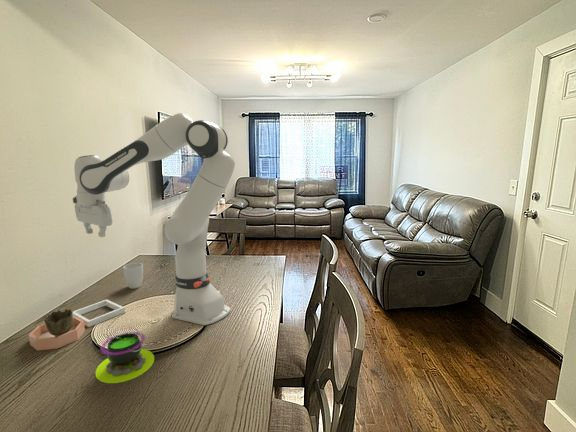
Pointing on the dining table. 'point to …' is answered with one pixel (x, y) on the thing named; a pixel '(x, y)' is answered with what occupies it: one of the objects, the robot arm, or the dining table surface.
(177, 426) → the dining table surface
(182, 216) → the robot arm
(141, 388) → the dining table surface
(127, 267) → the cup
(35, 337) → the bowl
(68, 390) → the dining table surface
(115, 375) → the toy cauldron
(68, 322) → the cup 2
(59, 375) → the dining table surface
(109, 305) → the open white square frame
